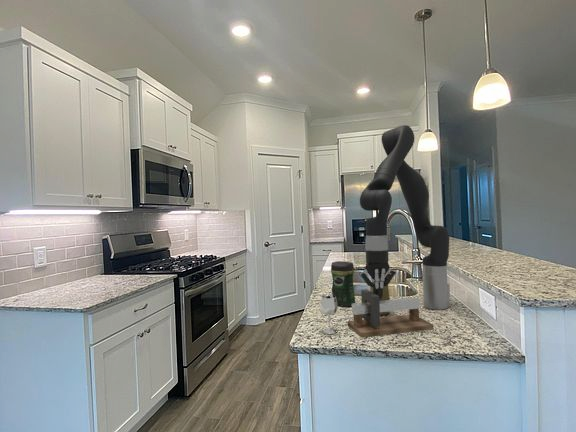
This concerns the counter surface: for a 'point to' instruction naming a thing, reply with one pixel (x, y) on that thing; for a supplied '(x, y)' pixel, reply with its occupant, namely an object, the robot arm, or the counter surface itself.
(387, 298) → the squeeze bottle
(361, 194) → the robot arm
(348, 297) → the coffee jar
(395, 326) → the board
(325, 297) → the wineglass
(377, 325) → the dark grey flat piece
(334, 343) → the counter surface
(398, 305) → the grey square bar
